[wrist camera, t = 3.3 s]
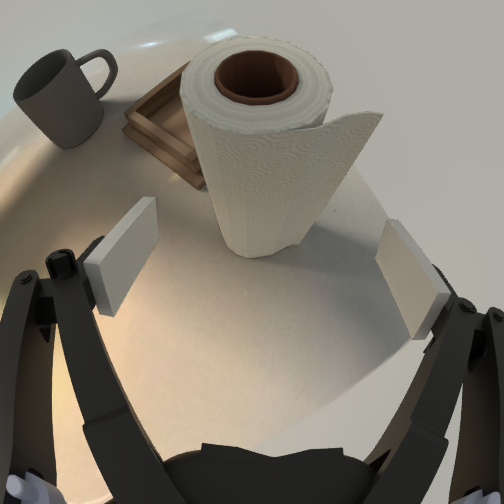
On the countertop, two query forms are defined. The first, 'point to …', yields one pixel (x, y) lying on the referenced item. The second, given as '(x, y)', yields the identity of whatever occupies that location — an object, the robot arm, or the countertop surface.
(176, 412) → the countertop surface
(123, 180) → the countertop surface
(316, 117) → the paper towel roll
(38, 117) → the mug
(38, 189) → the countertop surface
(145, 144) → the wooden tray
